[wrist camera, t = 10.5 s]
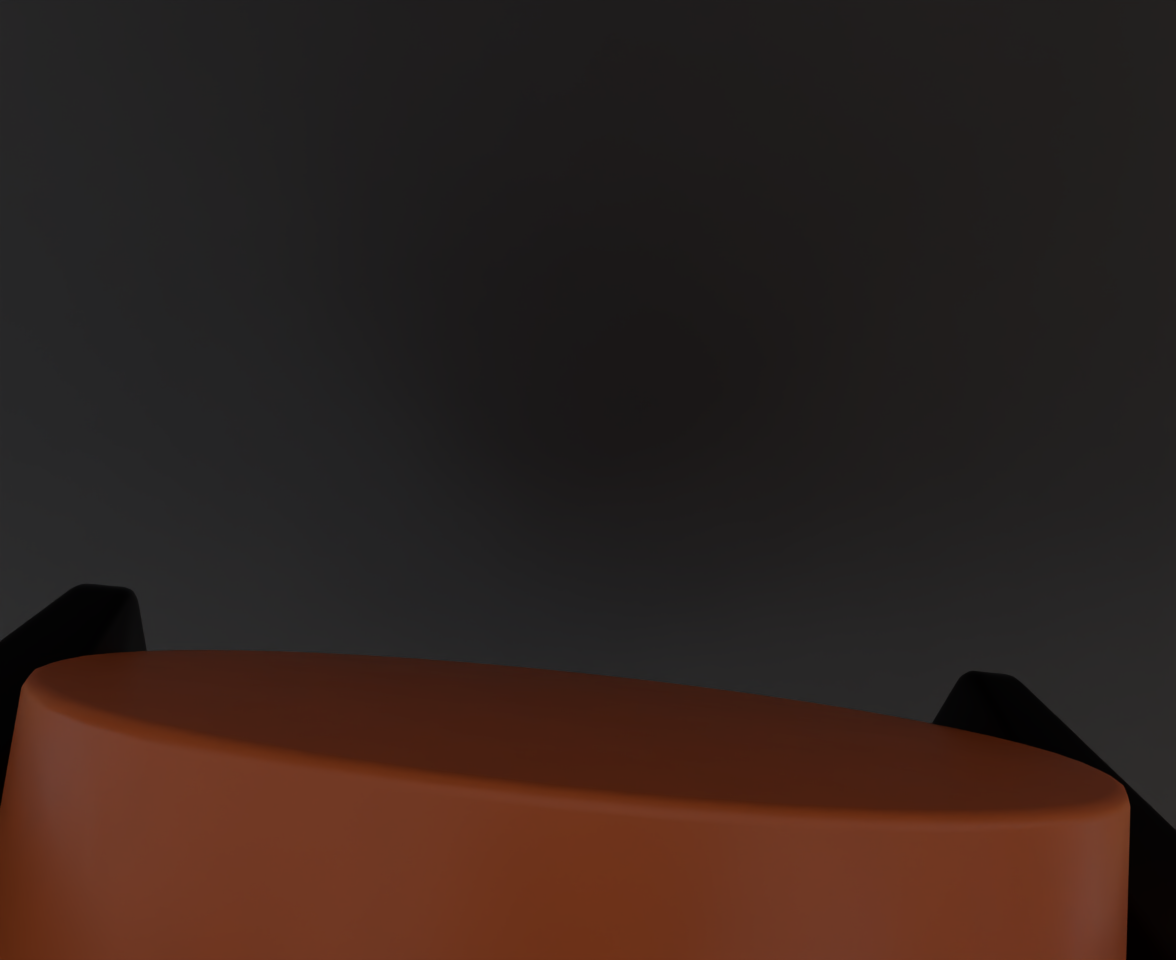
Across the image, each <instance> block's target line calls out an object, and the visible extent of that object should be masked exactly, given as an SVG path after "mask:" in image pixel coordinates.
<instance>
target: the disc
mask: <svg viewBox="0 0 1176 960" xmlns="http://www.w3.org/2000/svg"><path fill="white" fill-rule="evenodd" d="M1129 837H1130V803H1129V799H1128V795H1127V793H1126V791H1125V788H1124V786H1123V785H1122V784H1121V783H1119V782H1118V781H1117V780H1115V779H1114V778H1113V777H1111V776H1110V775H1108V774H1106V773H1104V772H1102V771H1100V770H1098V769H1096V768H1093V767H1091V766H1089V765H1087V764H1085V763H1082V762H1080V761H1077V760H1074V759H1071V758H1068V757H1065V756H1062V755H1060V754H1057V753H1054V752H1050V751H1046V750H1043V749H1039V748H1036V747H1032V746H1029V745H1025V744H1021V743H1017V742H1013V741H1009V740H1005V739H1001V738H997V737H993V736H989V735H984V734H979V733H975V732H970V731H966V730H961V729H957V728H952V727H947V726H942V725H937V724H932V723H927V722H922V721H916V720H911V719H906V718H900V717H895V716H889V715H884V714H878V713H872V712H866V711H860V710H854V709H849V708H843V707H837V706H830V705H824V704H817V703H811V702H805V701H798V700H792V699H785V698H778V697H771V696H764V695H757V694H750V693H743V692H735V691H728V690H721V689H713V688H706V687H698V686H690V685H682V684H674V683H666V682H657V681H649V680H640V679H632V678H623V677H614V676H605V675H596V674H586V673H577V672H567V671H557V670H547V669H536V668H526V667H515V666H504V665H492V664H481V663H469V662H456V661H443V660H430V659H416V658H401V657H386V656H370V655H352V654H333V653H311V652H285V651H251V650H162V651H135V652H118V653H106V654H97V655H88V656H81V657H76V658H70V659H65V660H60V661H57V662H53V663H50V664H48V665H45V666H42V667H40V668H37V669H35V670H34V671H33V672H32V673H31V674H30V676H29V677H28V678H27V680H26V681H25V683H24V684H23V686H22V687H21V693H20V699H19V704H18V710H17V716H16V721H15V727H14V733H13V738H12V744H11V750H10V755H9V761H8V767H7V772H6V778H5V784H4V789H3V795H2V801H1V806H0V960H1126V947H1127V911H1128V874H1129Z"/></svg>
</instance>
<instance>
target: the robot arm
mask: <svg viewBox="0 0 1176 960" xmlns="http://www.w3.org/2000/svg"><path fill="white" fill-rule="evenodd" d="M135 651H147V649H146V643H145V637H144V632H143V626H142V620H141V614H140V609H139V603H138V599H137V596H136V595H135V593H134V591H132V590H131V589H129V588H126V587H119V586H109V585H99V584H80V585H78V586H75V587H73V588H71V589H70V590H68V591H67V592H66V593H64V594H63V595H62V596H60V597H59V598H57V599H56V600H55V601H53V602H52V603H51V604H49V605H48V606H47V607H45V608H44V609H43V610H41V611H40V612H39V613H37V614H36V615H34V616H33V617H32V618H30V619H29V620H28V621H26V622H25V623H24V624H22V625H21V626H20V627H18V628H17V629H16V630H14V631H13V632H12V633H10V634H9V635H7V636H6V637H5V638H3V639H2V640H1V641H0V806H1V801H2V795H3V789H4V784H5V778H6V772H7V767H8V761H9V755H10V750H11V744H12V738H13V733H14V727H15V721H16V716H17V710H18V704H19V699H20V693H21V687H22V686H23V684H24V683H25V681H26V680H27V678H28V677H29V676H30V674H31V673H32V672H33V671H34V670H35V669H37V668H40V667H42V666H45V665H48V664H50V663H53V662H57V661H60V660H65V659H70V658H76V657H81V656H88V655H97V654H106V653H118V652H135ZM932 724H937V725H942V726H947V727H952V728H957V729H961V730H966V731H970V732H975V733H979V734H984V735H989V736H993V737H997V738H1001V739H1005V740H1009V741H1013V742H1017V743H1021V744H1025V745H1029V746H1032V747H1036V748H1039V749H1043V750H1046V751H1050V752H1054V753H1057V754H1060V755H1062V756H1065V757H1068V758H1071V759H1074V760H1077V761H1080V762H1082V763H1085V764H1087V765H1089V766H1091V767H1093V768H1096V769H1098V770H1100V771H1102V772H1104V773H1106V774H1108V775H1110V776H1111V777H1113V778H1114V779H1115V780H1117V781H1118V782H1119V783H1121V784H1122V785H1123V786H1124V788H1125V791H1126V793H1127V795H1128V799H1129V803H1130V837H1129V874H1128V911H1127V947H1126V960H1176V829H1175V828H1174V827H1173V826H1171V825H1170V824H1169V823H1168V822H1167V821H1166V820H1165V819H1164V818H1163V817H1162V816H1161V815H1160V814H1159V813H1158V812H1157V811H1156V810H1155V809H1154V808H1153V807H1152V806H1151V805H1149V804H1148V803H1147V802H1146V801H1145V800H1144V799H1143V798H1142V797H1141V796H1140V795H1139V794H1138V793H1137V792H1136V791H1135V790H1134V789H1133V788H1132V787H1131V786H1130V785H1129V784H1128V783H1126V782H1125V781H1124V780H1123V779H1122V778H1121V777H1120V776H1119V775H1118V774H1117V773H1116V772H1115V771H1114V770H1113V769H1112V768H1111V767H1110V766H1109V765H1108V764H1107V763H1106V762H1104V761H1103V760H1102V759H1101V758H1100V757H1099V756H1098V755H1097V754H1096V753H1095V752H1094V751H1093V750H1092V749H1091V748H1090V747H1089V746H1088V745H1087V744H1086V743H1085V742H1084V741H1082V740H1081V739H1080V738H1079V737H1078V736H1077V735H1076V734H1075V733H1074V732H1073V731H1072V730H1071V729H1070V728H1069V727H1068V726H1067V725H1066V724H1065V723H1064V722H1063V721H1062V720H1060V719H1059V718H1058V717H1057V716H1056V715H1055V714H1054V713H1053V712H1052V711H1051V710H1050V709H1049V708H1048V707H1047V706H1046V705H1045V704H1044V703H1043V702H1042V701H1041V700H1040V699H1039V698H1037V697H1036V696H1035V695H1034V694H1033V693H1032V692H1031V691H1030V690H1029V689H1028V688H1027V687H1026V686H1025V685H1024V684H1023V683H1022V682H1020V681H1019V680H1018V679H1017V678H1015V677H1013V676H1011V675H1008V674H1002V673H991V672H981V671H968V672H967V673H965V674H964V675H962V676H961V677H960V678H959V679H958V681H957V682H956V684H955V686H954V687H953V689H952V691H951V692H950V694H949V696H948V697H947V699H946V701H945V702H944V704H943V706H942V707H941V709H940V711H939V712H938V714H937V715H936V717H935V719H934V720H933V722H932Z"/></svg>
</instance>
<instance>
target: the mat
mask: <svg viewBox="0 0 1176 960" xmlns="http://www.w3.org/2000/svg"><path fill="white" fill-rule="evenodd" d="M80 584H99V585H109V586H119V587H126V588H129V589H131V590H132V591H134V593H135V595H136V596H137V599H138V603H139V609H140V614H141V620H142V626H143V632H144V637H145V643H146V649H147V651H162V650H251V651H285V652H311V653H333V654H352V655H370V656H386V657H401V658H416V659H430V660H443V661H456V662H469V663H481V664H492V665H504V666H515V667H526V668H536V669H547V670H557V671H567V672H577V673H586V674H596V675H605V676H614V677H623V678H632V679H640V680H649V681H657V682H666V683H674V684H682V685H690V686H698V687H706V688H713V689H721V690H728V691H735V692H743V693H750V694H757V695H764V696H771V697H778V698H785V699H792V700H798V701H805V702H811V703H817V704H824V705H830V706H837V707H843V708H849V709H854V710H860V711H866V712H872V713H878V714H884V715H889V716H895V717H900V718H906V719H911V720H916V721H922V722H927V723H932V722H933V720H934V719H935V717H936V715H937V714H938V712H939V711H940V709H941V707H942V706H943V704H944V702H945V701H946V699H947V697H948V696H949V694H950V692H951V691H952V689H953V687H954V686H955V684H956V682H957V681H958V679H959V678H960V677H961V676H962V675H964V674H965V673H967V672H968V671H981V672H991V673H1002V674H1008V675H1011V676H1013V677H1015V678H1017V679H1018V680H1019V681H1020V682H1022V683H1023V684H1024V685H1025V686H1026V687H1027V688H1028V689H1029V690H1030V691H1031V692H1032V693H1033V694H1034V695H1035V696H1036V697H1037V698H1039V699H1040V700H1041V701H1042V702H1043V703H1044V704H1045V705H1046V706H1047V707H1048V708H1049V709H1050V710H1051V711H1052V712H1053V713H1054V714H1055V715H1056V716H1057V717H1058V718H1059V719H1060V720H1062V721H1063V722H1064V723H1065V724H1066V725H1067V726H1068V727H1069V728H1070V729H1071V730H1072V731H1073V732H1074V733H1075V734H1076V735H1077V736H1078V737H1079V738H1080V739H1081V740H1082V741H1084V742H1085V743H1086V744H1087V745H1088V746H1089V747H1090V748H1091V749H1092V750H1093V751H1094V752H1095V753H1096V754H1097V755H1098V756H1099V757H1100V758H1101V759H1102V760H1103V761H1104V762H1106V763H1107V764H1108V765H1109V766H1110V767H1111V768H1112V769H1113V770H1114V771H1115V772H1116V773H1117V774H1118V775H1119V776H1120V777H1121V778H1122V779H1123V780H1124V781H1125V782H1126V783H1128V784H1129V785H1130V786H1131V787H1132V788H1133V789H1134V790H1135V791H1136V792H1137V793H1138V794H1139V795H1140V796H1141V797H1142V798H1143V799H1144V800H1145V801H1146V802H1147V803H1148V804H1149V805H1151V806H1152V807H1153V808H1154V809H1155V810H1156V811H1157V812H1158V813H1159V814H1160V815H1161V816H1162V817H1163V818H1164V819H1165V820H1166V821H1167V822H1168V823H1169V824H1170V825H1171V826H1173V827H1174V828H1175V829H1176V0H0V641H1V640H2V639H3V638H5V637H6V636H7V635H9V634H10V633H12V632H13V631H14V630H16V629H17V628H18V627H20V626H21V625H22V624H24V623H25V622H26V621H28V620H29V619H30V618H32V617H33V616H34V615H36V614H37V613H39V612H40V611H41V610H43V609H44V608H45V607H47V606H48V605H49V604H51V603H52V602H53V601H55V600H56V599H57V598H59V597H60V596H62V595H63V594H64V593H66V592H67V591H68V590H70V589H71V588H73V587H75V586H78V585H80Z"/></svg>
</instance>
